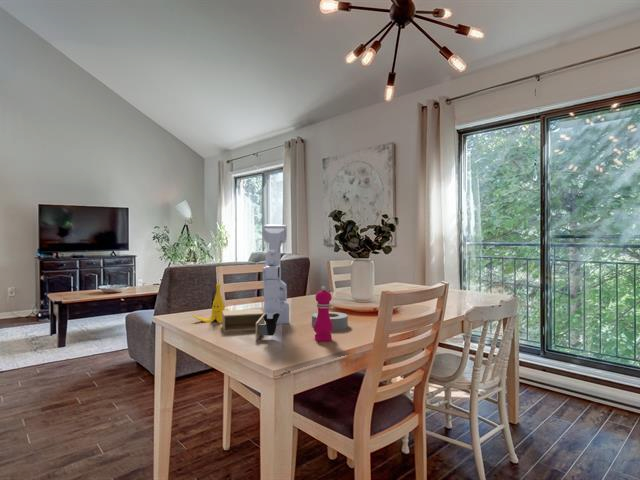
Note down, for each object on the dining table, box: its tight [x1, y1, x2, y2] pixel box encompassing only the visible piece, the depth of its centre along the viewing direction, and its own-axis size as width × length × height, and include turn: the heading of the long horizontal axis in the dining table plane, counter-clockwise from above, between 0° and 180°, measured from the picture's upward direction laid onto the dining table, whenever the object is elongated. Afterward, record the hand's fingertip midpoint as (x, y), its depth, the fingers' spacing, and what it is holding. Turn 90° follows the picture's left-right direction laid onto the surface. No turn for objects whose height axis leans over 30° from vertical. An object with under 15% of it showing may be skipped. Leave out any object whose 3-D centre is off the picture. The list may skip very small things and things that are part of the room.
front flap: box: [255, 313, 274, 340], centre depth 152 cm, size 16×6×6 cm, turn 178°
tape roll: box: [311, 311, 349, 332], centre depth 167 cm, size 15×15×5 cm
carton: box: [221, 308, 265, 333], centre depth 163 cm, size 16×10×7 cm, turn 107°
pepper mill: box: [313, 285, 333, 343], centre depth 146 cm, size 7×7×20 cm
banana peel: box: [192, 283, 229, 324], centre depth 178 cm, size 17×19×17 cm
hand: (271, 333), depth 146 cm, fingers closed
